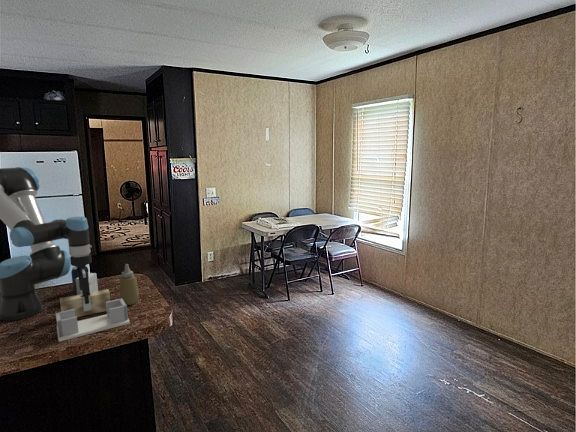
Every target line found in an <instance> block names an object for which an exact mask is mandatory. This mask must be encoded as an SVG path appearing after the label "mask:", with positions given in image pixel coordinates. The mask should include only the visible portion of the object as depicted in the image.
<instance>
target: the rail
mask: <svg viewBox="0 0 576 432" xmlns="http://www.w3.org/2000/svg"><path fill="white" fill-rule="evenodd" d="M82 295H83V294H80V295H77V294H76V295H70V296H65V297H60V298H59V304H60V310H61V311H60V312H62V311H67V310H71V309H75V316H77V318H80V317H84V316H88V315H93V314H98V313H103V312H107V310H106V302H108V301H111V293H110V290H109V289H102V290H98V291H96V292H91V293H90V301H91V310H89V311H84V308H83V299H82V297H81V296H82Z"/></svg>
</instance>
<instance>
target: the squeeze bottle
mask: <svg viewBox="0 0 576 432" xmlns="http://www.w3.org/2000/svg"><path fill="white" fill-rule="evenodd" d="M139 295H140V291H139V287H138V281H137V278H136V276H135V275H134V271H133V270H131V269H130V267H129V264H128V263H125V264H124V271H122V272H121V277H119V299H121V298H122V299H123V300H124V302H125V304H126V305H127V306H131V305H135V304H137V302H138V300H139V297H140V296H139Z"/></svg>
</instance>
